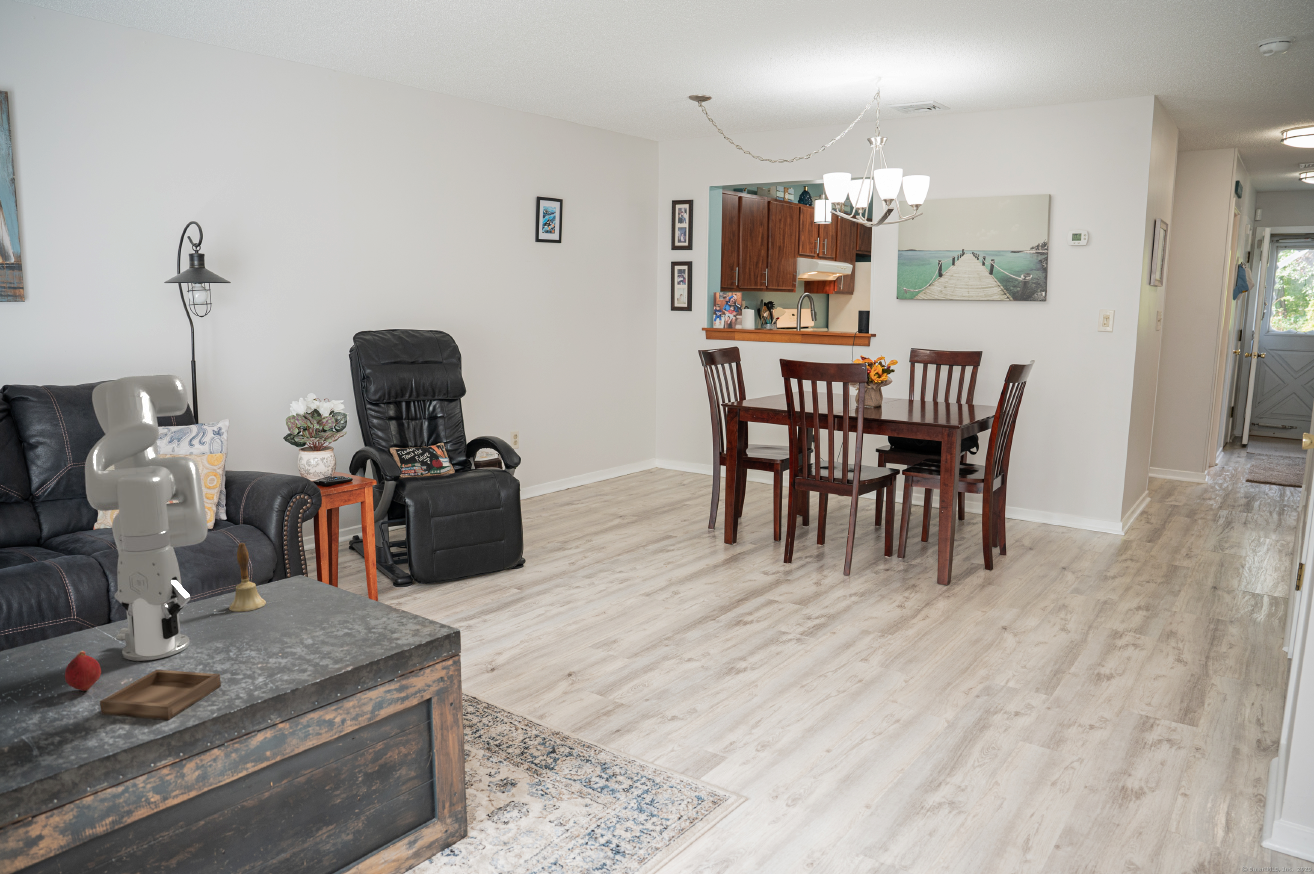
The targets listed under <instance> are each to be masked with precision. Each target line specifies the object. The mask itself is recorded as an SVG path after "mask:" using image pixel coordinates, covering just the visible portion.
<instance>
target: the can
mask: <svg viewBox="0 0 1314 874" xmlns="http://www.w3.org/2000/svg"><path fill="white" fill-rule="evenodd" d="M167 604H168V607H169V609H170V608H171V602H170V603H167ZM132 606H133V623H134V639H135V652H136V653H137V654H138V655H139V656H142V657H156V656H161V655H165V654H167V653H169V652H171V651H172V650H173V648H174V647H175V636H173V637H171V638H169V639H164V638H163V630H162V619H163V618H165V617H164V615H163V612H162V610H161V605H151V604H148V603H147V602H146V601H145V600H144V599H141V598H139V599H136V600H135V601H134V603H133V604H132Z"/></svg>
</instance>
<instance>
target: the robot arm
mask: <svg viewBox="0 0 1314 874" xmlns="http://www.w3.org/2000/svg"><path fill="white" fill-rule="evenodd" d="M91 396H92V397H91V400H92V406H93V409H94V412H95V416H96V418H97V421H98V423H99V426H100V427H101V429H102V431H103V432H104V435H103V436H102V437H101V438H100V439H99V440H98V441H96V443H95V444H94V446H93V447H92V448H91V449H90V450H89V453H88V454H87V457H86V460H85V464H84V476H85V478H84V479H85V494H86V499H87V501H88V503H89V505H90V506H91V507H92V509H95V510H96V511H100V512H109V511H116V510H118V513H117V514H116V515H115V516H114V518H113V520H112V524H111V528H112V529H111V530H112V535H113V538H114V543H115V546H116V549H117V553H118V557H117V558H118V559H117V567H116V568H117V571H116V573H117V578H116V579H117V591H116V592H115V594H114V598H115V599H116V600H117V602H119V603H120V604H121V606H122V607H123V608H124V609H125V610H126V619H127V627H122V628H121V629H120V630H119V631H118V634H116V636H115V639H116V641H120V642H121V641H123V642H124V641H125V646H124V647H123V649H122V653H121V654H122V657H123V658H124V659H125V660H128V661H136V662H139V661H142V662H143V661H145V662H146V661H154V660H158V659H159V660H160V659H163V658H164V659H165V658H167V657H170V656H173V655H176V654H179V653H181V652H183V651H184V650H186V649H187V648H188V647H189V646H190V644H191V643H190V637H188V636H187V635H184V634H182V633H181V626H180V616H179V615H180V613H181V610H183V608H184V606H185V605H186V604H188V602H190V600H191V596H190V594H189V593H188V592H187V591H186V590H185V589H184V588H183V586H182V579H181V578H182V577H181V572H180V568H179V562H178V559H177V556H176V553H175V552H176V551H175V549H174V548H181V547H186V546H194V545H197V544H200V543H202V542H204V541H205V540H206V538H207V536H208V517H207V510H206V505H205V504H206V503H205V498H204V492H203V491H204V490H203V483H202V478H201V473H200V470H199V467H198V465H197V463H196V461H195V460H194V459H192V458H191V457H189V456H172V457H171V456H170V457H160V456H159V450H158V448H159V447H158V439H159V436H160V435H159V434H160V431H159V430H160V429H159V424H158V418H157V417H172V416H180V415H183V414H185V412H186V410H187V407H188V404H189V403H188V402H189V400H188V399H189V397H188V391H187V388H186V385H185V383H184V381H183V379H181V377H179V376H177V375H174V374H155V375H137V376H136V375H135V376H133V375H132V376H125V377H121V378H117V379H115V380H111V381H105V382H102V383H100V384H98V385H97V386H95V387H94V388H93V390H92V395H91ZM112 466H113V469H109V468H110V467H112ZM171 501H172V502H171ZM173 501H177V502H173ZM169 502H170V503H169ZM139 598H141V599H144V600H145V601H146V602H147V603H148V604H151V605H161V610H162V612H163V615H164V617H165V618H163V619H162V630H163V638H164V639H169V638H171V637H173V636H175V647H174V648H173V650H172V651H171V652H169V653H167V654H165V655H161V656H156V657H142V656H139V655H138V654H137V653H136V652H135V639H134V623H133V606H132V604H133V603H134V601H135V600H136V599H139ZM170 602H171V608H170V609H169V607H168V604H167V603H170Z"/></svg>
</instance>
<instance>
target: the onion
mask: <svg viewBox="0 0 1314 874" xmlns="http://www.w3.org/2000/svg"><path fill="white" fill-rule="evenodd" d="M101 674H102V668H101V664H100V663H99V662H98V660H96V659H95V658H94V657H92V656H90V655H87V654H86V651H84V650H81V651H80V652H79V653H78V654H76V656H75V657H74V658H73V659H71V660H70V662H69V663H68V664H67V665H66V667H65V672H64V679H65V682H66V684H67V685H68V686H69V687H71V688H73V689H75V690H79V691H81V692H86V691H89V690H90V689H91V688H92V686H94V684H96V683H97V681H99V679H100V677H101Z"/></svg>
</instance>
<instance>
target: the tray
mask: <svg viewBox="0 0 1314 874" xmlns="http://www.w3.org/2000/svg"><path fill="white" fill-rule="evenodd" d="M221 687H222V684H221V674H220V673H219V674H218V673H206V672H195V671H183V670H181V671H180V670H167V669H155V670H153V671H150V673H148V674H146V675H144V676H143V677H140V678H139V679H137V680H136V681H133V682H131V683H130V684H129V685H126V686H124V687H122V688H121V689H119V690H117V691H116V692H113V693H112V694H110V695H108V696H107V697H105V698H103V699H102V700H100V701H99V704H100V706H99V707H100V714H101V715H104V716H105V715H106V716H107V715H109V716H118V717H131V718H139V719H140V718H142V719H154V720H164V721H169V720H171V719H173V718H175V717H176V716H178V715H180V714H181V713H182V712H184V711H185V710H187V709H188V708H190V707H191V706H193V705H195V704H197V702H199V701H201V700H202V699H203V698H205V697H207V696H209V695H210V694H212V693H213V692H214V691H216V690H217V689H219V688H221Z"/></svg>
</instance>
